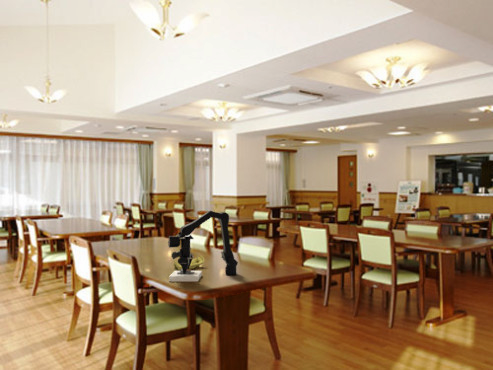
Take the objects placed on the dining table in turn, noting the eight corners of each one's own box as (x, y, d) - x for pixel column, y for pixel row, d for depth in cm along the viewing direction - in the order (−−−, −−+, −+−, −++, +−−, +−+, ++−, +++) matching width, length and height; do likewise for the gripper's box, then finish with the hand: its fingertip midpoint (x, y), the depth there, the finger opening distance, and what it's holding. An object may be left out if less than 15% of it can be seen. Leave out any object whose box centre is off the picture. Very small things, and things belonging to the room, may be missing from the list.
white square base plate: (201, 275, 261) (201, 270, 261) (197, 281, 245) (197, 276, 245) (174, 275, 262) (174, 270, 262) (169, 281, 246) (169, 276, 246)
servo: (194, 277, 255) (194, 268, 255) (193, 279, 251) (193, 269, 251) (178, 277, 256) (178, 268, 256) (177, 279, 252) (177, 269, 252)
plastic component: (179, 267, 275) (174, 259, 283) (178, 276, 278) (173, 268, 286) (206, 262, 285) (200, 254, 293) (205, 271, 289) (199, 262, 296)
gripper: (175, 244, 263) (175, 269, 263) (169, 249, 244) (169, 275, 244) (193, 244, 263) (193, 269, 263) (188, 249, 244) (188, 275, 244)
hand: (185, 272), depth 253 cm, fingers open, 9 cm apart
